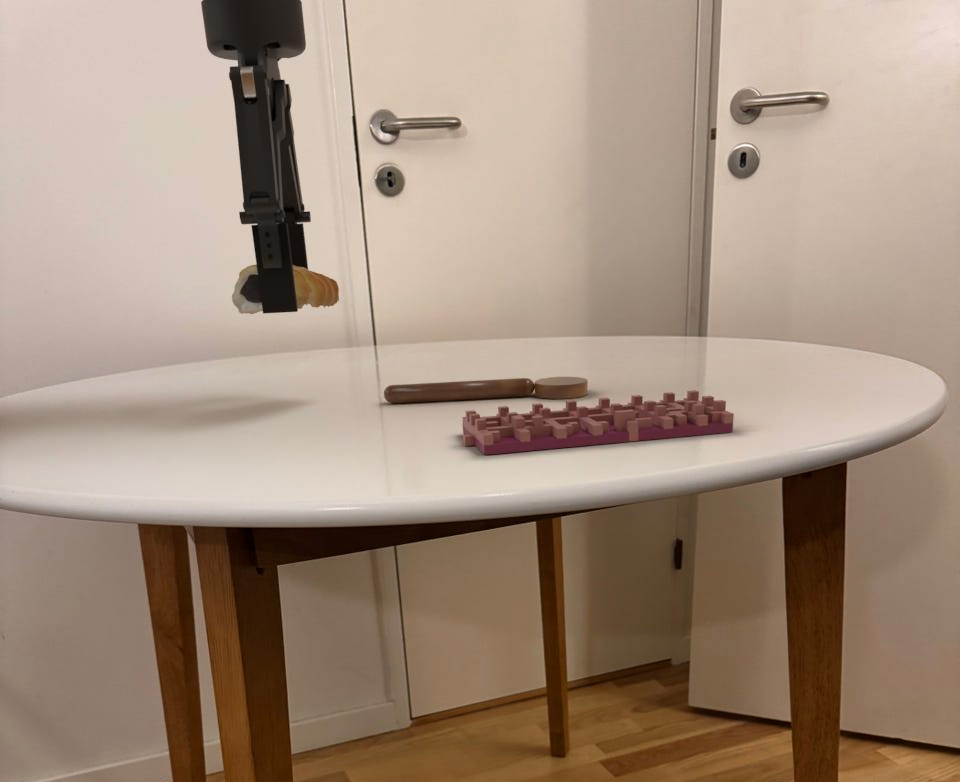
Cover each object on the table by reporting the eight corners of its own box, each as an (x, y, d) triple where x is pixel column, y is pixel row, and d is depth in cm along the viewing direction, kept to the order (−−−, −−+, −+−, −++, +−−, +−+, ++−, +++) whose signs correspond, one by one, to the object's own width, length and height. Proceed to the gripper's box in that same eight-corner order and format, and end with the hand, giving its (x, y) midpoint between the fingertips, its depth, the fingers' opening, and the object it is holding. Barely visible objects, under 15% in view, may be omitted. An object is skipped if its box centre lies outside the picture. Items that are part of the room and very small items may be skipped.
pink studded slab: (454, 435, 70) (453, 408, 69) (690, 414, 74) (691, 389, 73) (475, 455, 64) (473, 426, 63) (732, 432, 67) (734, 404, 66)
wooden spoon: (383, 408, 82) (381, 389, 81) (385, 399, 86) (384, 381, 86) (591, 397, 82) (591, 378, 82) (583, 388, 87) (583, 371, 86)
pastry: (304, 304, 86) (299, 259, 84) (360, 305, 82) (356, 258, 81) (227, 314, 79) (220, 265, 77) (285, 316, 75) (279, 265, 74)
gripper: (279, -47, 61) (319, 316, 70) (316, 20, 81) (343, 295, 90) (163, -42, 61) (218, 321, 70) (229, 24, 81) (265, 299, 90)
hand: (288, 307), depth 80 cm, fingers closed on pastry, 9 cm apart
